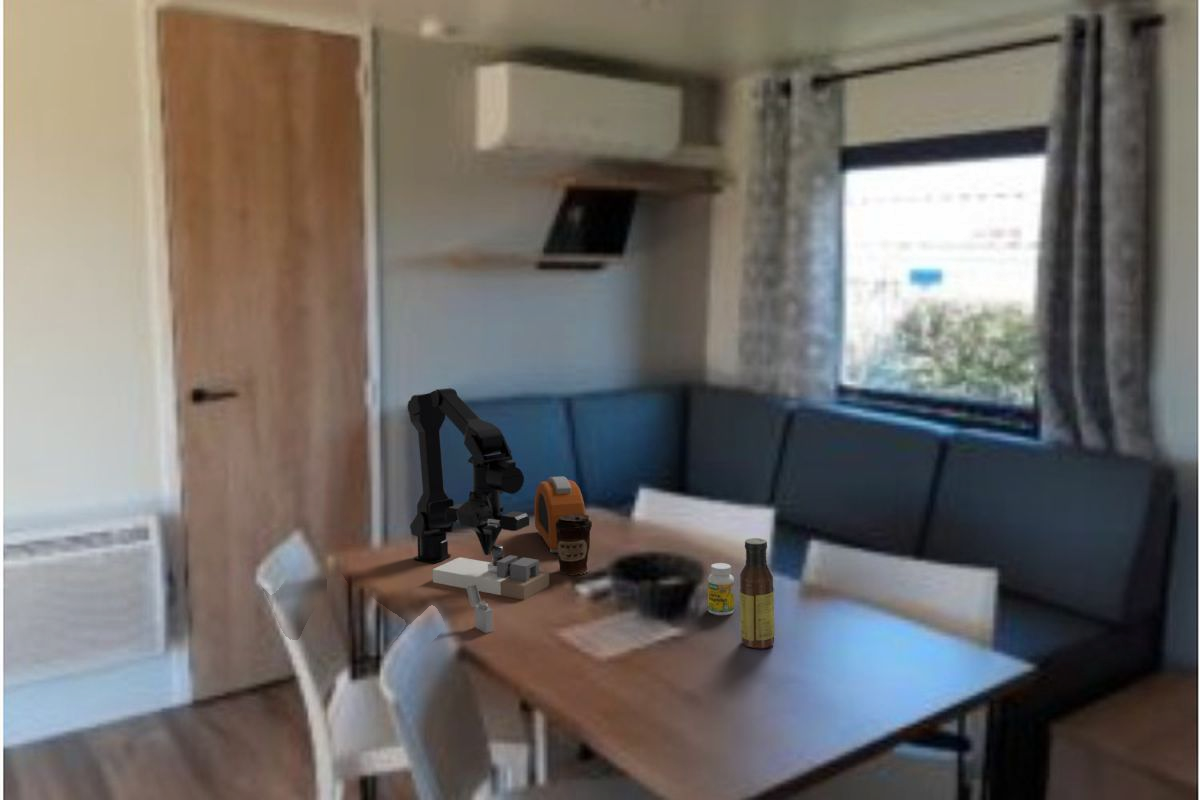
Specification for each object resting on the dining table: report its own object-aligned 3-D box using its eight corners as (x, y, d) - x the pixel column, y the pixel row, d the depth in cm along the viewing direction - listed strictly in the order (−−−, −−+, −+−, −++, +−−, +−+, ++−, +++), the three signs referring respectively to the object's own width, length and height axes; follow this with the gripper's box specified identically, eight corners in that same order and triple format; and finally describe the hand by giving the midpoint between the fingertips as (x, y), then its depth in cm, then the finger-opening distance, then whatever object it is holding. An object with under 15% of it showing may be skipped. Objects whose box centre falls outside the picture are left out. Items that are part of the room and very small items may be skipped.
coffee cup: (591, 578, 225) (591, 521, 223) (554, 578, 225) (554, 521, 223) (592, 566, 234) (592, 511, 232) (557, 566, 234) (556, 511, 232)
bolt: (487, 571, 220) (486, 546, 219) (493, 568, 222) (493, 544, 221) (525, 578, 215) (525, 553, 214) (531, 575, 217) (531, 550, 216)
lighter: (493, 631, 194) (492, 591, 193) (486, 633, 193) (485, 593, 192) (474, 620, 199) (473, 581, 198) (466, 622, 198) (465, 583, 197)
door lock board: (433, 582, 223) (432, 554, 222) (459, 569, 231) (459, 542, 230) (524, 599, 211) (523, 570, 210) (549, 585, 220) (548, 557, 219)
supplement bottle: (737, 608, 206) (737, 563, 204) (729, 617, 201) (730, 571, 199) (711, 605, 208) (712, 560, 206) (704, 613, 203) (704, 568, 202)
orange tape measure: (534, 531, 263) (533, 469, 261) (567, 529, 266) (567, 467, 263) (551, 557, 241) (550, 489, 238) (587, 554, 243) (587, 487, 241)
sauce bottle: (776, 639, 189) (779, 537, 186) (771, 652, 183) (773, 546, 180) (742, 635, 191) (744, 534, 188) (735, 647, 185) (737, 543, 183)
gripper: (428, 488, 216) (430, 558, 218) (501, 498, 207) (502, 571, 209) (459, 478, 225) (461, 545, 228) (530, 487, 217) (531, 557, 219)
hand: (487, 554), depth 221 cm, fingers closed
